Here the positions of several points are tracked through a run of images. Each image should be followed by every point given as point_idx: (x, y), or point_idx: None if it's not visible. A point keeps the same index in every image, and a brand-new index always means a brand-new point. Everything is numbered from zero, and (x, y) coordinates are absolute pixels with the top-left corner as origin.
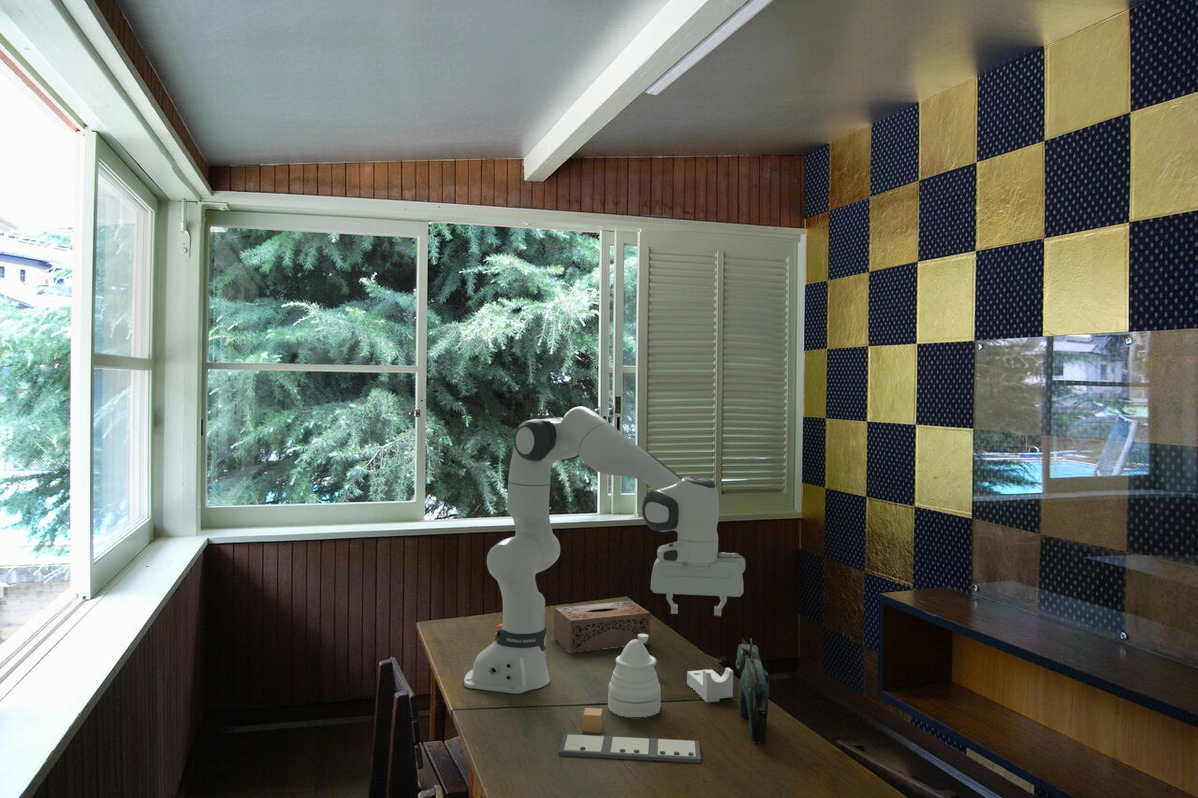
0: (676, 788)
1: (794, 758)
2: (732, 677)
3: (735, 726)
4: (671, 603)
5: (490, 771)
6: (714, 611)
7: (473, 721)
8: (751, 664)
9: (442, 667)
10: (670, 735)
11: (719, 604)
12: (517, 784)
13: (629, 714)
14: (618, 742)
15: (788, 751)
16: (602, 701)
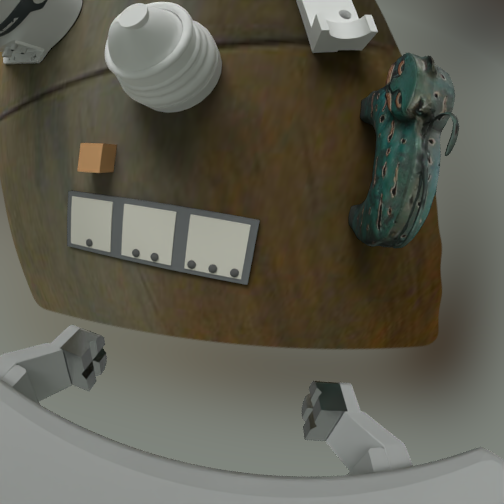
0: (203, 340)
1: (386, 277)
2: (372, 36)
3: (340, 155)
4: (53, 390)
5: (28, 274)
6: (313, 398)
7: (2, 152)
8: (415, 180)
9: None
10: (217, 182)
11: (349, 430)
12: (51, 304)
13: (158, 110)
14: (131, 224)
15: (388, 255)
16: None
